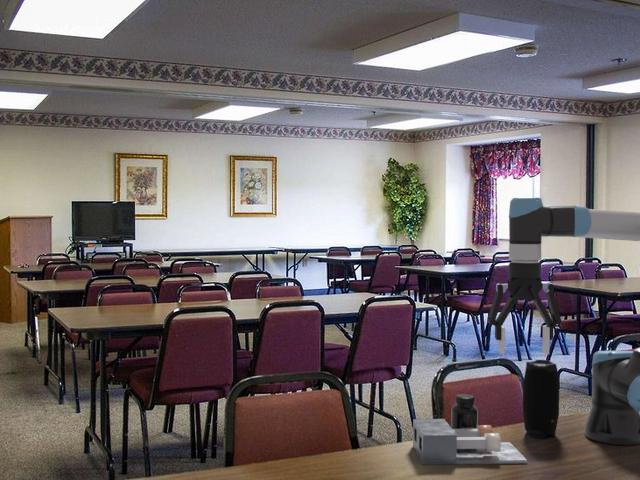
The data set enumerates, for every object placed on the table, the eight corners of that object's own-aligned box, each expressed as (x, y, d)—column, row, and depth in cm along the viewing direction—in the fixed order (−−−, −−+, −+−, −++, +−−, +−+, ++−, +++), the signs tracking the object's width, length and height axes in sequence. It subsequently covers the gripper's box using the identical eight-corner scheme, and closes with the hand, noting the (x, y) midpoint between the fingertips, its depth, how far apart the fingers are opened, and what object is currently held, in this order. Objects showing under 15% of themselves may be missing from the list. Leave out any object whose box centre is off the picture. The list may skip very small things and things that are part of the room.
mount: (509, 445, 196) (510, 418, 195) (527, 463, 182) (527, 434, 181) (412, 446, 194) (413, 419, 194) (422, 464, 180) (423, 435, 180)
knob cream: (495, 448, 187) (495, 430, 187) (500, 454, 183) (501, 436, 182) (443, 449, 186) (443, 431, 186) (446, 455, 182) (447, 436, 182)
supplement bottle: (466, 447, 194) (466, 400, 193) (445, 441, 199) (445, 395, 198) (482, 442, 198) (483, 396, 198) (461, 436, 203) (462, 391, 203)
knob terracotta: (488, 440, 194) (488, 422, 194) (492, 445, 190) (493, 427, 189) (437, 440, 193) (437, 423, 193) (440, 446, 189) (441, 428, 189)
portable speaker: (563, 438, 201) (564, 365, 200) (528, 439, 200) (529, 365, 200) (551, 429, 210) (552, 358, 209) (517, 430, 209) (518, 359, 208)
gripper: (565, 260, 187) (564, 350, 188) (474, 260, 186) (473, 350, 187) (577, 262, 180) (575, 356, 181) (482, 262, 179) (481, 356, 180)
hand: (523, 353), depth 184 cm, fingers open, 10 cm apart
